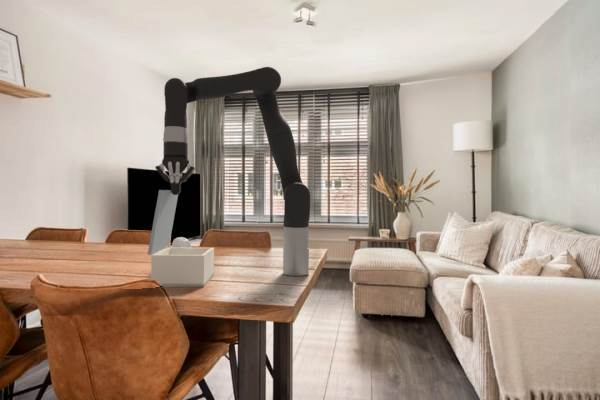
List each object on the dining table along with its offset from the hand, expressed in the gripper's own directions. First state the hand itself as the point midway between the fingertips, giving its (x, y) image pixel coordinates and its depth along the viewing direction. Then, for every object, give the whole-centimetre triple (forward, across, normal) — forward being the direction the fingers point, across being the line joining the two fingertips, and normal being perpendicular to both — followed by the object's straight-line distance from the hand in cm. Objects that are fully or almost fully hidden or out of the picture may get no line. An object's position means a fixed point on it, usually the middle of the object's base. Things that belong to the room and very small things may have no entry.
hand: (175, 194), depth 117 cm
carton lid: (+9, +3, 0) cm, 9 cm away
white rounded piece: (+29, +3, -17) cm, 33 cm away
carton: (+28, -3, 0) cm, 29 cm away
